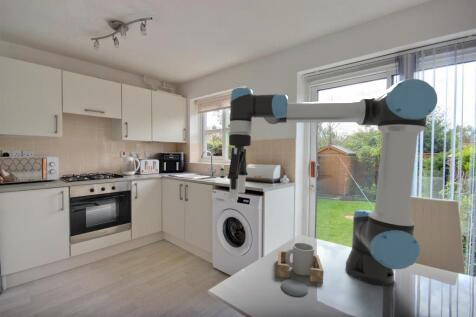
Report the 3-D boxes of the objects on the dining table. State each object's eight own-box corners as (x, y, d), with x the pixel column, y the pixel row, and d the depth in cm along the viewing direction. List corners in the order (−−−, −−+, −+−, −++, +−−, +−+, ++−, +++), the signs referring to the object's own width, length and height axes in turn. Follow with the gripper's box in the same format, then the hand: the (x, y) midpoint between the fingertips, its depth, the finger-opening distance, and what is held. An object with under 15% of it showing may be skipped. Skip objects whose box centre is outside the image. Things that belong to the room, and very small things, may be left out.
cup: (315, 276, 79) (317, 251, 79) (287, 275, 79) (288, 250, 79) (308, 266, 87) (310, 243, 86) (282, 265, 87) (283, 241, 86)
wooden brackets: (317, 265, 87) (318, 255, 87) (322, 282, 76) (323, 270, 76) (278, 260, 90) (278, 250, 90) (277, 275, 79) (277, 264, 78)
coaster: (306, 283, 75) (306, 281, 75) (308, 298, 67) (309, 296, 67) (281, 279, 76) (281, 277, 76) (281, 293, 68) (281, 291, 68)
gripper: (236, 137, 92) (234, 189, 92) (219, 130, 67) (217, 201, 68) (255, 137, 90) (252, 191, 91) (245, 130, 66) (242, 204, 66)
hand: (237, 195), depth 79 cm, fingers open, 13 cm apart
